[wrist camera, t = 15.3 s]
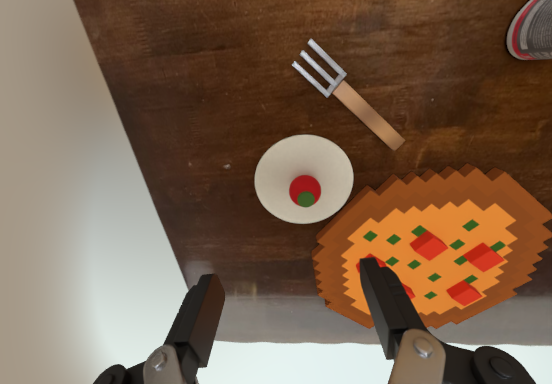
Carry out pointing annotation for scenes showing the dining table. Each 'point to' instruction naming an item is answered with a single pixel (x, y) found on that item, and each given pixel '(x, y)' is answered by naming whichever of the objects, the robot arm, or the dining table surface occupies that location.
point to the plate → (303, 161)
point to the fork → (349, 97)
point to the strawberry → (305, 191)
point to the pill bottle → (532, 31)
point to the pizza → (434, 243)
